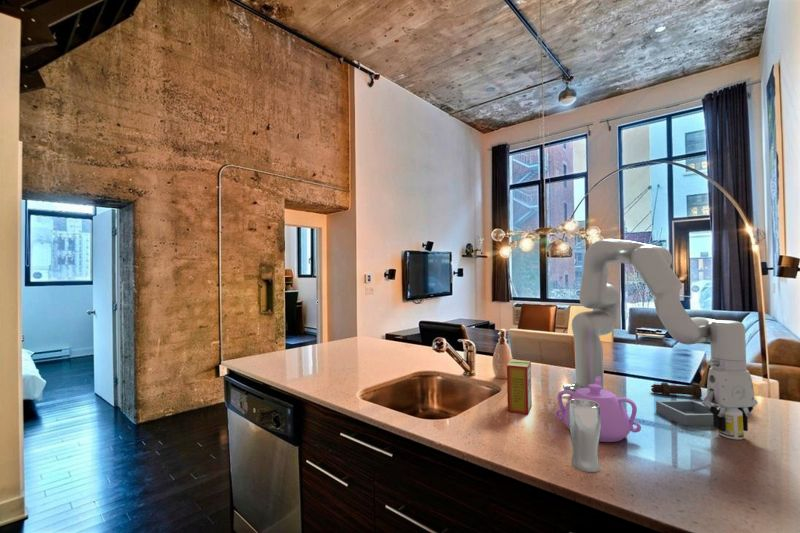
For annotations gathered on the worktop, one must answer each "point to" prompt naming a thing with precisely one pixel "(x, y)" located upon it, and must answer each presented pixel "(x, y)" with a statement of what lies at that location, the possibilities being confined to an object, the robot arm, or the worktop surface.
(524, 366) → the baking soda box
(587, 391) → the purple lidded sugar bowl
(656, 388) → the bolt
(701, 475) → the worktop surface
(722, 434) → the supplement bottle
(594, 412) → the beer glass
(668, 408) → the tray
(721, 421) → the robot arm
